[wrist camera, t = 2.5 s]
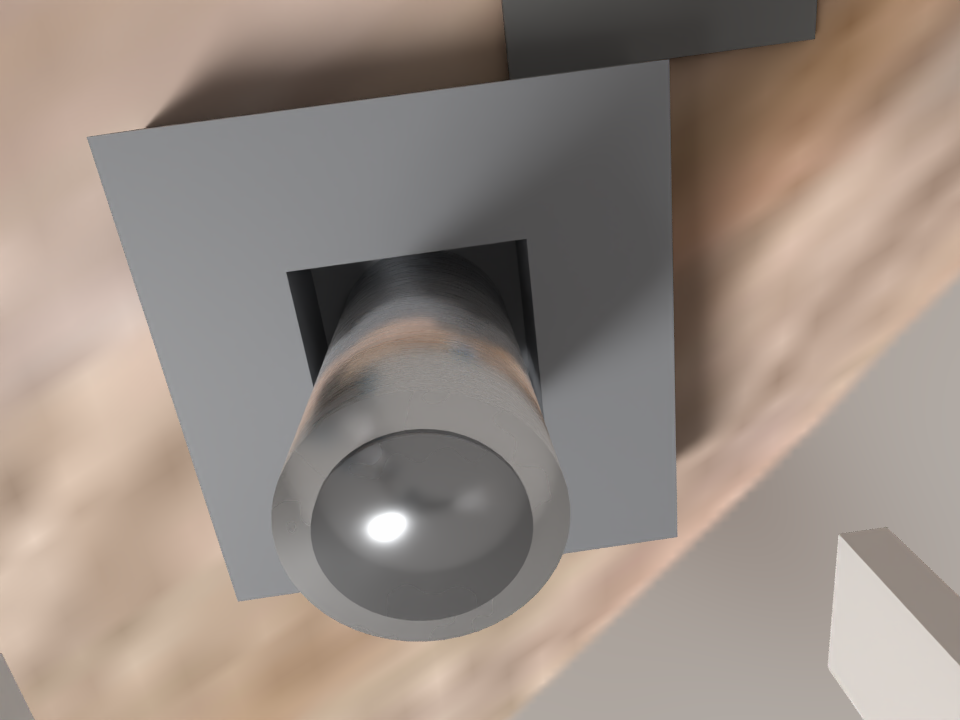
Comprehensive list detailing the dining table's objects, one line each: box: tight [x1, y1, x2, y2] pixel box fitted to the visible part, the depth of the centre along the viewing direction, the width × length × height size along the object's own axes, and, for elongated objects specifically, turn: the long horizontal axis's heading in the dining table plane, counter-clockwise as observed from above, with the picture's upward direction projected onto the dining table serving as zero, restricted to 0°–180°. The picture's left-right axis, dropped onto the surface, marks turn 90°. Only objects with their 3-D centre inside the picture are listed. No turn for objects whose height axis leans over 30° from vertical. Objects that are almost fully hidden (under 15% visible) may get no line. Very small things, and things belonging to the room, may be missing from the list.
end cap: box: [271, 250, 570, 641], centre depth 19 cm, size 6×6×12 cm
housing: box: [87, 59, 677, 601], centre depth 24 cm, size 16×16×4 cm
